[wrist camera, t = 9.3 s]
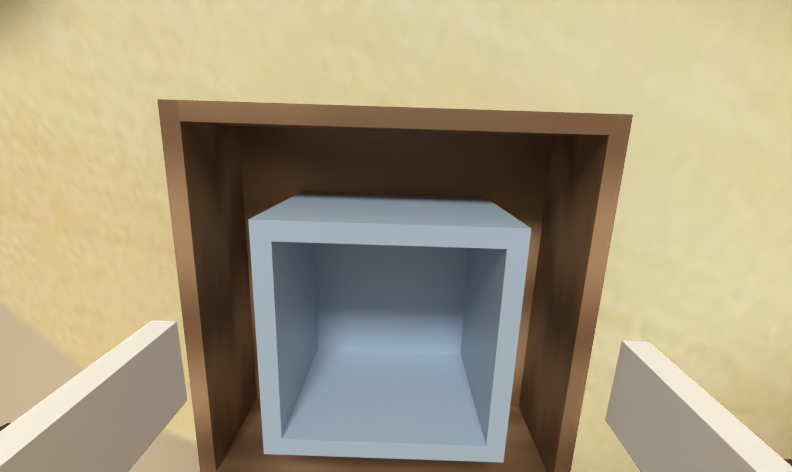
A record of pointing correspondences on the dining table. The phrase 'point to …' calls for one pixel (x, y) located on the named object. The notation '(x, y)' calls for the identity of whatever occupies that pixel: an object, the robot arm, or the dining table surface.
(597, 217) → the large crate
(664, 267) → the dining table surface
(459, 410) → the small crate
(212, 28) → the dining table surface
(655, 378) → the robot arm
